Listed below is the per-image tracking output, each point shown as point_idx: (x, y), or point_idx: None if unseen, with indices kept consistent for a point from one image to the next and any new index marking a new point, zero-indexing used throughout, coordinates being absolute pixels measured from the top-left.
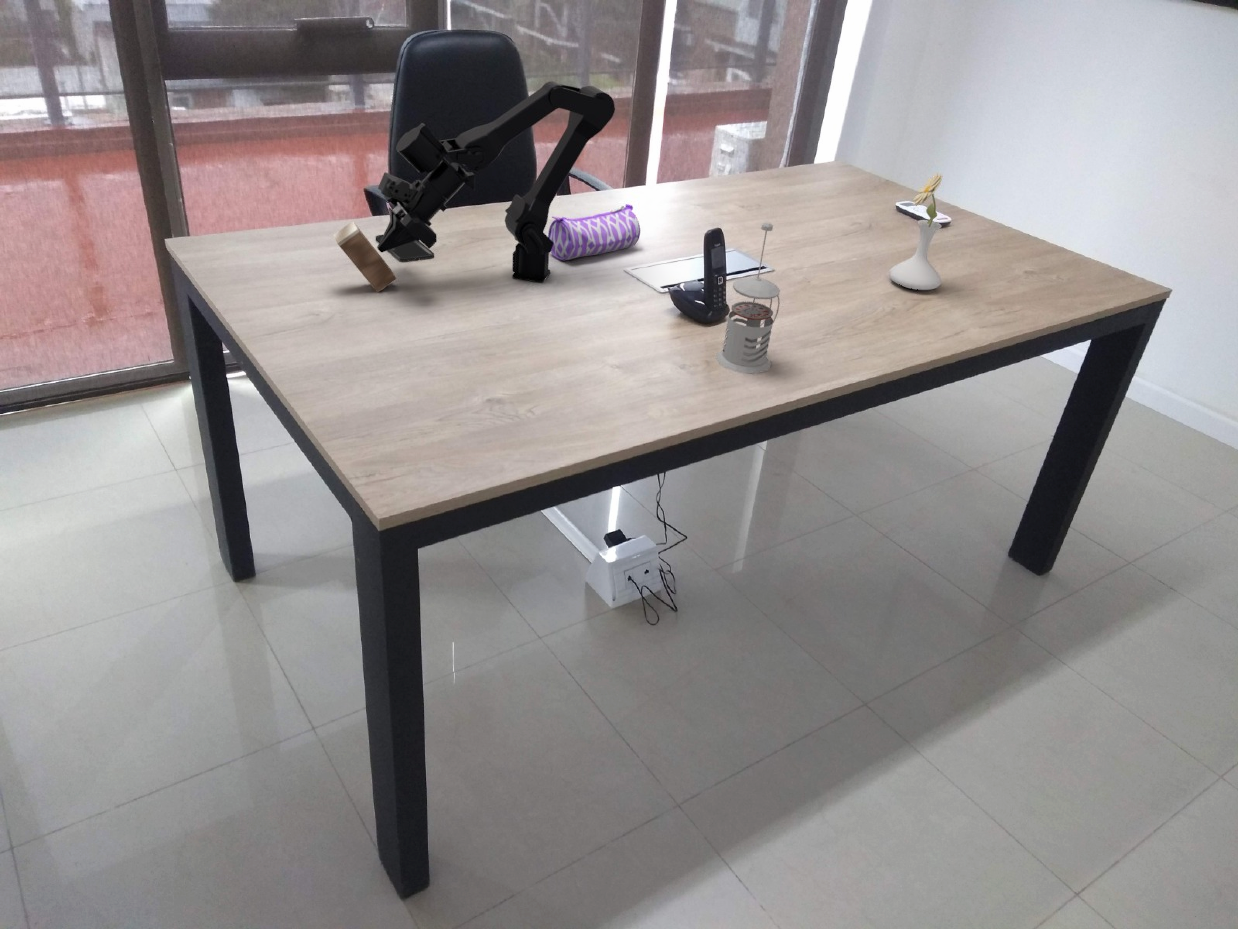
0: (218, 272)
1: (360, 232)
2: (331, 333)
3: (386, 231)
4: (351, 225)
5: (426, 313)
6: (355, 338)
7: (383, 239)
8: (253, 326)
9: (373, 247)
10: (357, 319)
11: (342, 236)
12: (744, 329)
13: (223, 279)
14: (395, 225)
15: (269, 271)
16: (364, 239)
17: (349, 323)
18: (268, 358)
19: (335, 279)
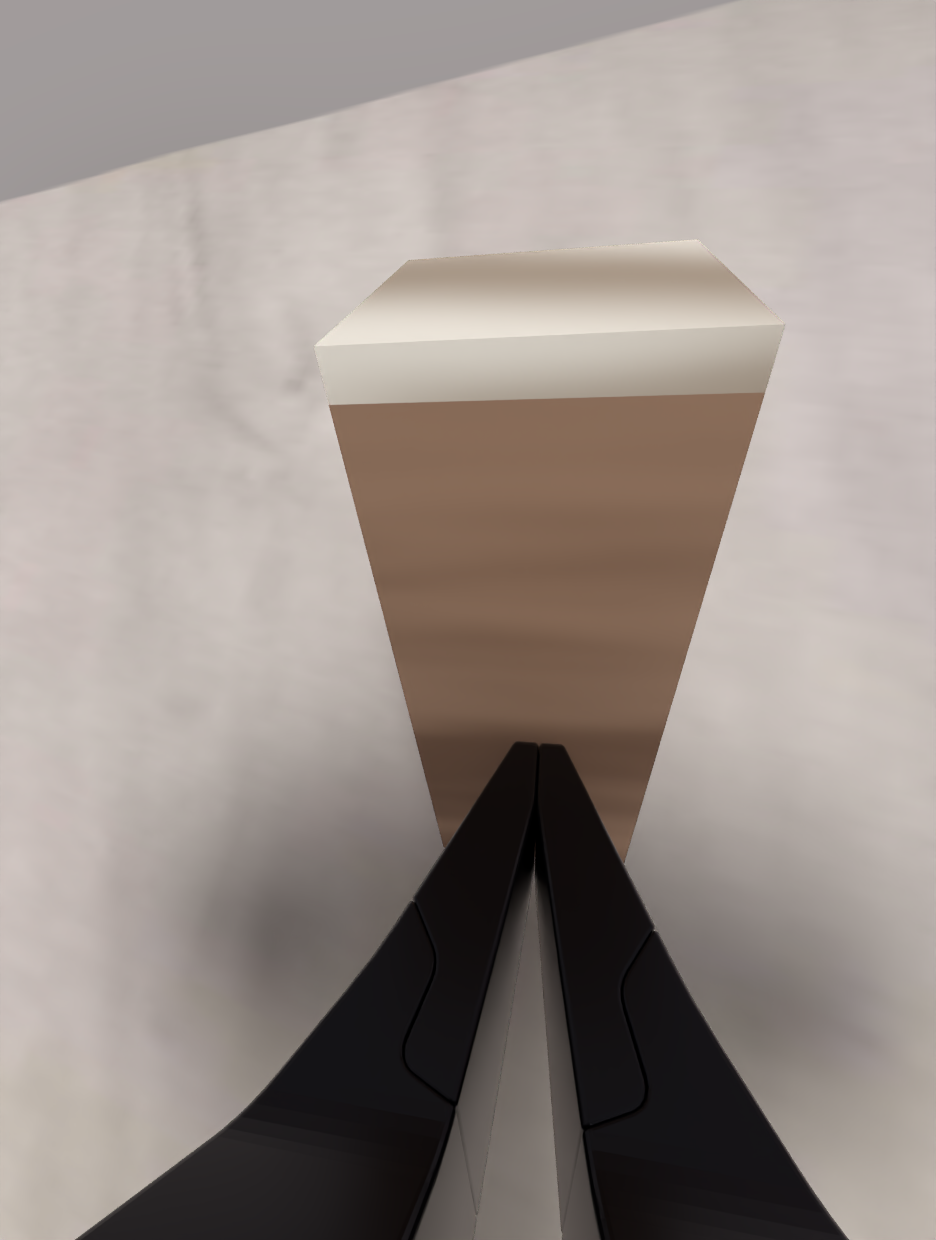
0: (920, 32)
1: (380, 440)
2: (107, 413)
3: (598, 938)
4: (624, 315)
5: (113, 888)
6: (26, 491)
7: (516, 828)
8: (279, 172)
9: (613, 715)
10: (187, 534)
11: (480, 275)
12: None
13: (816, 56)
14: (176, 1164)
15: (910, 224)
16: (361, 523)
17: (163, 494)
18: (29, 214)
19: (726, 523)
